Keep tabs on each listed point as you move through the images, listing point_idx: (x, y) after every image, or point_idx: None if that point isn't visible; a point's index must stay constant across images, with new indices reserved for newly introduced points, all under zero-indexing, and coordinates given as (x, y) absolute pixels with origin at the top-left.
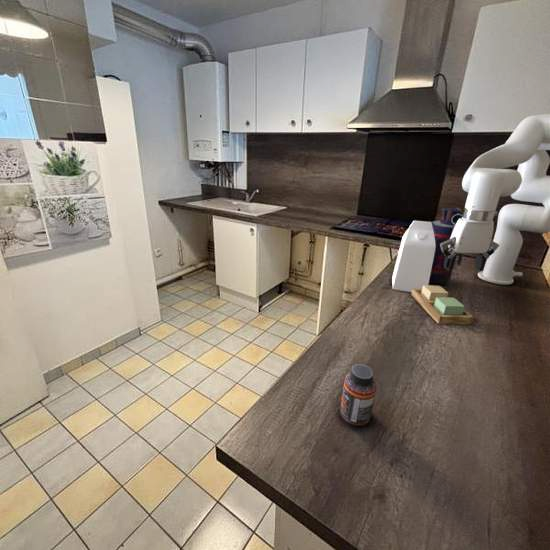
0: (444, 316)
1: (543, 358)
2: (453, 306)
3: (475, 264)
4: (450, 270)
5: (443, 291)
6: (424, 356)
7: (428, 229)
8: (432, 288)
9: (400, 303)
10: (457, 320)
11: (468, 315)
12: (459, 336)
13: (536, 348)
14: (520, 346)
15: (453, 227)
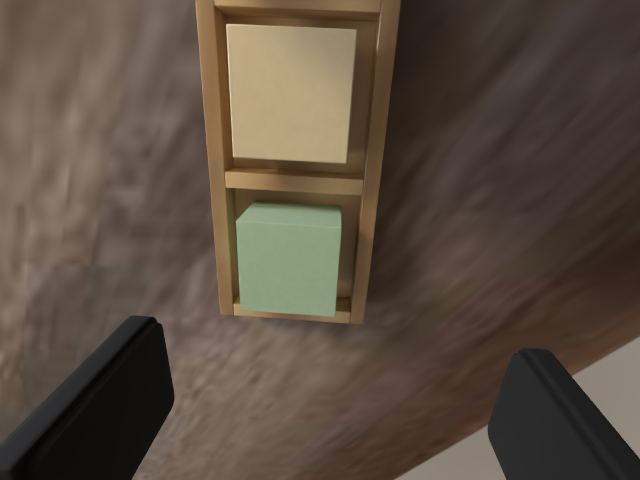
0: (238, 315)
1: (438, 450)
2: (279, 311)
3: (535, 396)
4: (165, 407)
5: (325, 142)
6: None
7: None
8: (272, 90)
9: (120, 120)
10: None
11: (351, 308)
12: (267, 362)
13: (465, 420)
14: (425, 410)
15: None
